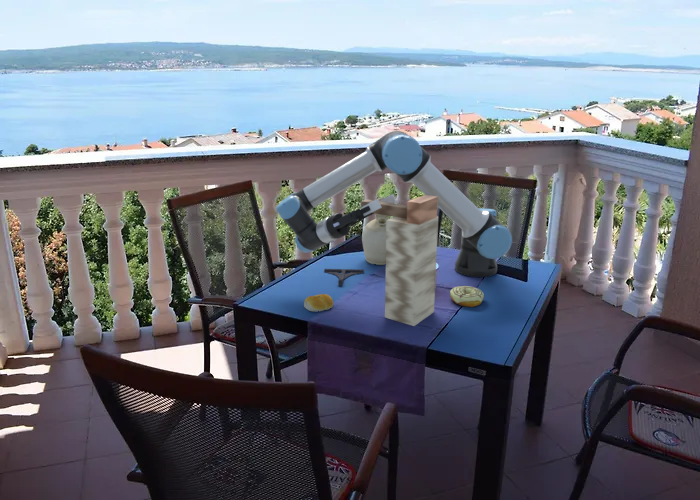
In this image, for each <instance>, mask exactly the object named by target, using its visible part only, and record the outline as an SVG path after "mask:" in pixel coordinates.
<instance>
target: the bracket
mask: <svg viewBox="0 0 700 500" xmlns="http://www.w3.org/2000/svg"><path fill="white" fill-rule="evenodd" d="M323 272H324V273H326V274H330V275H332V276H336V277H337V278H338V285H337V286H338V287H342V286H343V284H344V281H345V280H346V279H347V278H348V277H351V276H355V274H356V275H362V274H364V272H365V269H359V268H358V269H356V268H355V269H352V268H350V269H349V268H324V271H323ZM361 273H362V274H361Z"/></svg>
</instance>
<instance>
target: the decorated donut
mask: <svg viewBox="0 0 700 500" xmlns="http://www.w3.org/2000/svg"><path fill="white" fill-rule="evenodd" d="M449 296H450V298H451V301H453V302H454V303H455V304H457V305H459V306H461V307H470V308H474V307H478V306H480V305H481V304H482V302H484V301H483V300H484V298H485V294H484V292H483V291H482V290H481V289H480V288H477V287H475V286H472V285H471V286H468V285H462V286H460V285H459V286H454V287H453V288H452V289H451V290H450V293H449Z"/></svg>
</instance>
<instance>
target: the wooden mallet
mask: <svg viewBox="0 0 700 500" xmlns="http://www.w3.org/2000/svg"><path fill="white" fill-rule="evenodd" d="M374 200H375V199H374ZM374 200H373V199H368V198H367V199H364V200H360V208H361V207H363V206H365V205H367V204H369V203H370V202H372V201H374ZM437 201H438V197H436V196H429V195H425V194H424V195H421V196H419V197H418V196H417V197H416V198H413V199H410V200H407V201H406V203H407V204H406V205H405V204H398V203H394V204H393V203H387V202H380V201H379V202H380V205H381V207H382V208H380V209H378V210H376V211H374V212H372V213H375V214H381V215H387V216H389V217H392V218H393V217H399V218H405V219H407V223H412V224H418V225H420V224H423V223H425V222H427V221H429V220H432V219H434V218H436V217H437V216H438V206H437ZM375 214H374V215H375Z"/></svg>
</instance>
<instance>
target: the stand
mask: <svg viewBox="0 0 700 500" xmlns="http://www.w3.org/2000/svg"><path fill="white" fill-rule="evenodd" d="M438 232H439V216H438V215H437V217H436V218H434V219H432V220H429V221H427V222H425V223H423V224H420V225H418V224H412V223H407V219H405V218H399V217H393V216H392V217H391V218H389V219H388V220H387V223H386V265H385V288H384V289H385V290H384V300H385V301H384V318H386V319H389V320H392V321H395V322H398V323H402V324H405V325H409V326H412V327H416V326H417V325H418V324H419V323H420V322H422V321H423V320H425V319H427V318H428V317H429V316H431V315H432V314H434V313H435V299H436V296H435V295H436V277H437V275H436V274H437V255H438V254H437V252H438Z"/></svg>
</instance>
